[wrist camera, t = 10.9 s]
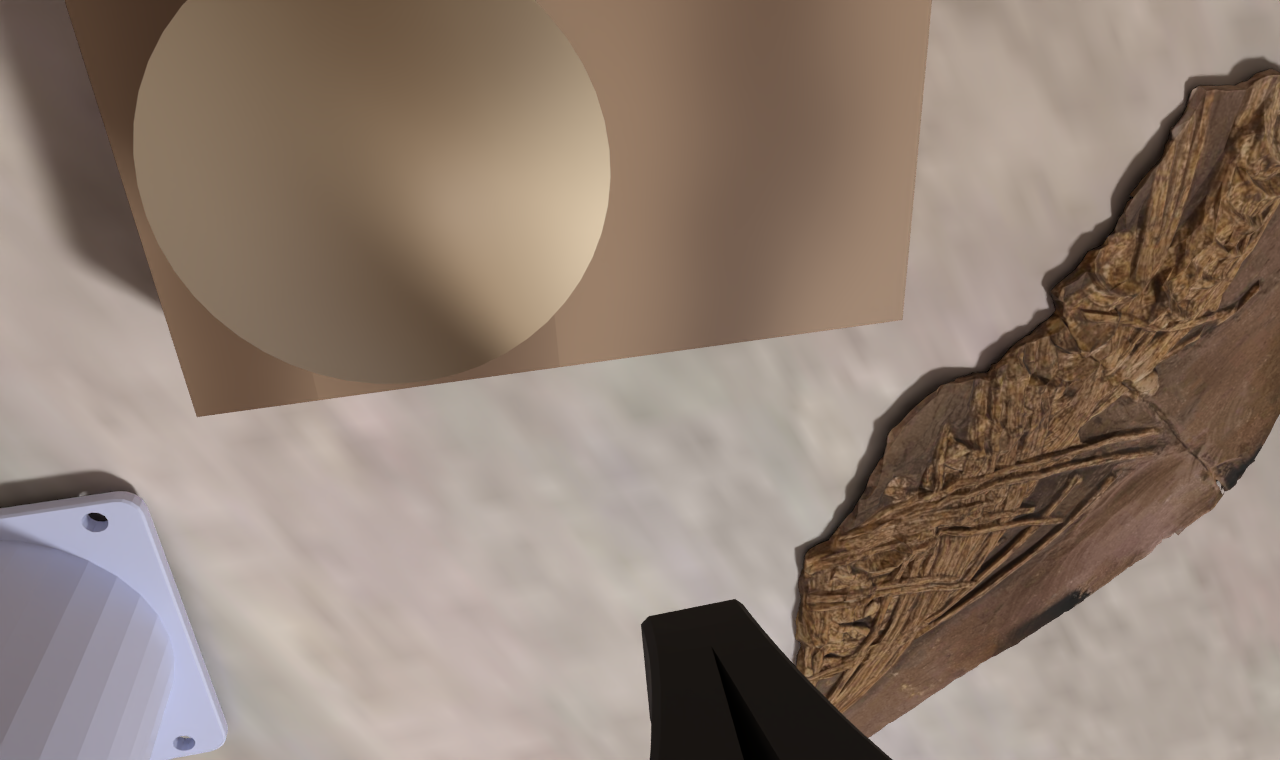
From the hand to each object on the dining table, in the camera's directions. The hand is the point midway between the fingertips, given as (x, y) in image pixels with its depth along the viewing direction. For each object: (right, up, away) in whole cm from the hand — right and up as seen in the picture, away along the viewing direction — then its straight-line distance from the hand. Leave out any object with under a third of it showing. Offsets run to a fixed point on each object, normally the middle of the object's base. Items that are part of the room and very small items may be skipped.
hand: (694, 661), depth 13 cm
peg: (-5, +10, +5) cm, 12 cm away
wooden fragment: (+11, +2, +14) cm, 18 cm away
